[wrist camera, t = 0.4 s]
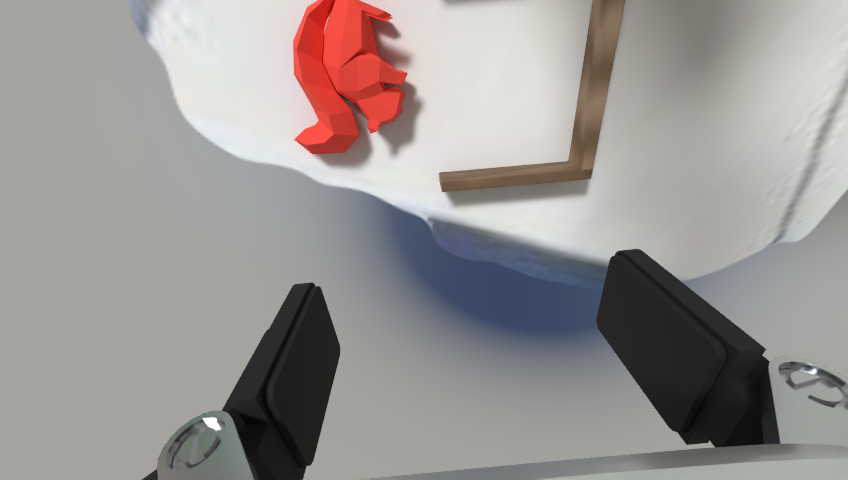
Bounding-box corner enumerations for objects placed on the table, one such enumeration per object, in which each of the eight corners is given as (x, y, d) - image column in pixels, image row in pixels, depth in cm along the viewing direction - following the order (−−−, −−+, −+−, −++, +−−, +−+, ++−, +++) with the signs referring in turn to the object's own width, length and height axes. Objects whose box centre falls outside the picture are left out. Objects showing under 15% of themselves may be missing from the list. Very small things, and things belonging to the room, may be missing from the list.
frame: (426, -56, 28) (428, -71, 25) (617, -75, 28) (642, -92, 25) (439, 182, 39) (442, 191, 36) (576, 170, 39) (590, 178, 36)
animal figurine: (289, 139, 36) (272, 150, 32) (309, -16, 29) (290, -29, 25) (385, 170, 38) (381, 184, 34) (424, 32, 31) (426, 27, 27)
